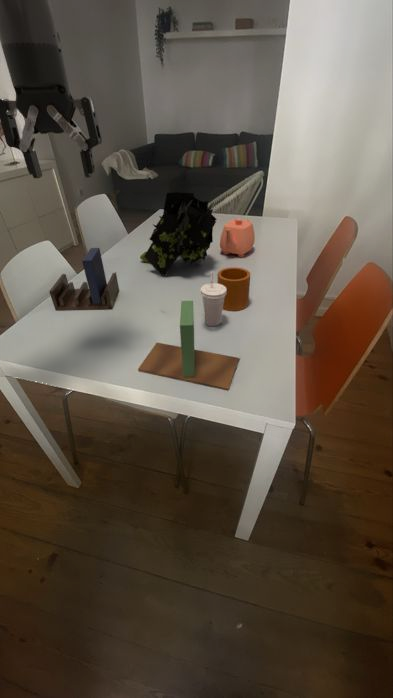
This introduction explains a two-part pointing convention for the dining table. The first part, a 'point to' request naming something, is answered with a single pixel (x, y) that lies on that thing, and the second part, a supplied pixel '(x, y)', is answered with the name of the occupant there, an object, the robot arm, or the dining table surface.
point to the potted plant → (180, 232)
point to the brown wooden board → (207, 366)
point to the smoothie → (213, 301)
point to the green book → (187, 338)
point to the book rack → (82, 295)
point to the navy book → (95, 274)
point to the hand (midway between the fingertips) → (63, 177)
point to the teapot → (237, 237)
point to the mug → (235, 287)
